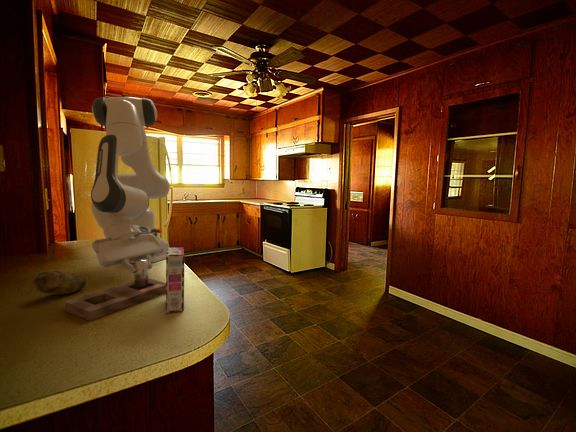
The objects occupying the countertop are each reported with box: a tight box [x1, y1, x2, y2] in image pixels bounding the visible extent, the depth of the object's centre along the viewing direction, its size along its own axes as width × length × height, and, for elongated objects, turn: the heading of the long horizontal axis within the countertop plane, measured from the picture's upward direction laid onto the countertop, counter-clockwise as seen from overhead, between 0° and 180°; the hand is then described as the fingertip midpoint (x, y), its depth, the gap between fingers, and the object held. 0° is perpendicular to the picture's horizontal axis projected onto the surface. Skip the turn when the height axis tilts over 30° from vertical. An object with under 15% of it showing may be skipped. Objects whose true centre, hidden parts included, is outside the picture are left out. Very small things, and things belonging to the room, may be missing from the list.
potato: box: [33, 269, 87, 296], centre depth 92 cm, size 8×13×8 cm, turn 128°
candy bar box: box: [165, 246, 185, 313], centre depth 86 cm, size 11×5×16 cm, turn 21°
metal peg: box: [133, 259, 149, 286], centre depth 94 cm, size 4×4×8 cm
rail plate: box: [64, 277, 166, 322], centre depth 89 cm, size 25×12×3 cm, turn 152°
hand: (142, 269), depth 94 cm, fingers closed on metal peg, 4 cm apart
